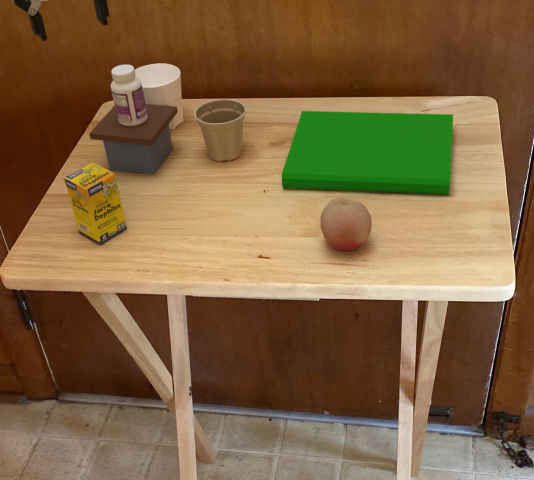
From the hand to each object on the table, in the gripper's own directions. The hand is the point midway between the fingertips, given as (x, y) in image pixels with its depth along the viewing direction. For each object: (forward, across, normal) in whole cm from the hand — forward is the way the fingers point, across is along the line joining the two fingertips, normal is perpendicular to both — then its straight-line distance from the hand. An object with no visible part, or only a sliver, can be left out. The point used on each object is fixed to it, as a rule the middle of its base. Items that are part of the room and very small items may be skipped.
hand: (73, 30), depth 124 cm
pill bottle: (+21, +9, +8) cm, 24 cm away
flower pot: (+29, +23, 0) cm, 37 cm away
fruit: (+29, +27, -36) cm, 53 cm away
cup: (+29, +18, +19) cm, 39 cm away
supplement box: (+30, -5, -10) cm, 32 cm away
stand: (+29, +9, +8) cm, 32 cm away
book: (+29, +44, -16) cm, 55 cm away
